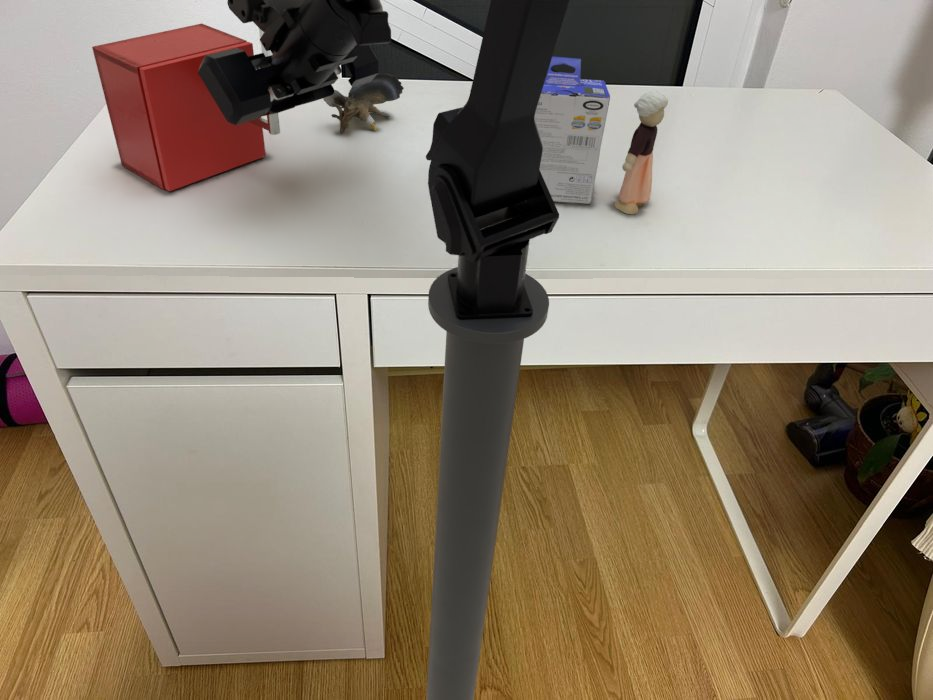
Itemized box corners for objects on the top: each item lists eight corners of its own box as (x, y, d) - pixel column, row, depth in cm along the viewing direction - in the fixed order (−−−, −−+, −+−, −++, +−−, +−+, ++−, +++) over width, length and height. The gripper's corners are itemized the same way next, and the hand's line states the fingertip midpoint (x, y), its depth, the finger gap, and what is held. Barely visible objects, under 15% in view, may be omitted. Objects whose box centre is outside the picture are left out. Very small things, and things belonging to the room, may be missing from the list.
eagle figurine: (376, 137, 90) (416, 102, 95) (342, 84, 87) (386, 51, 92) (339, 152, 96) (379, 119, 101) (307, 103, 93) (350, 71, 98)
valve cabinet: (260, 154, 87) (246, 40, 79) (163, 190, 79) (136, 67, 71) (219, 134, 91) (201, 23, 83) (121, 166, 83) (91, 46, 75)
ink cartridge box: (588, 183, 86) (610, 56, 77) (593, 206, 82) (618, 74, 73) (504, 178, 86) (516, 50, 77) (505, 200, 82) (518, 68, 73)
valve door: (294, 170, 84) (284, 55, 76) (198, 208, 76) (174, 84, 68) (261, 154, 87) (247, 41, 79) (165, 189, 79) (138, 67, 71)
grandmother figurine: (643, 221, 80) (670, 107, 72) (608, 214, 81) (631, 100, 73) (652, 192, 86) (679, 82, 78) (620, 185, 87) (642, 76, 79)
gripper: (356, -65, 72) (292, 26, 84) (191, -41, 61) (144, 61, 73) (414, 37, 74) (342, 113, 86) (263, 80, 62) (205, 161, 74)
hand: (264, 110), depth 80 cm, fingers closed on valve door
